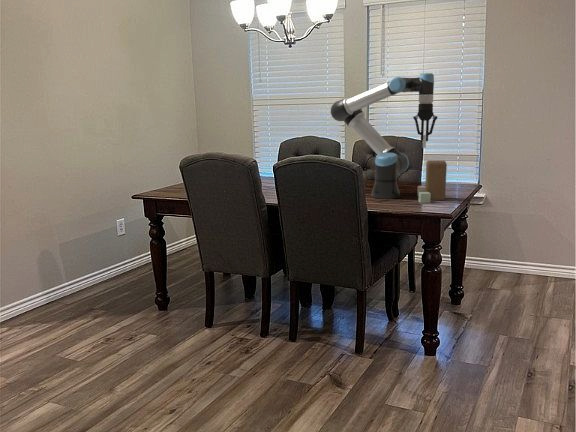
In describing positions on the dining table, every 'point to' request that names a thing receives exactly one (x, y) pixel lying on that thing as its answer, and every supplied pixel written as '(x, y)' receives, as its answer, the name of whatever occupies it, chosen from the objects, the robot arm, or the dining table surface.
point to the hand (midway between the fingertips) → (424, 147)
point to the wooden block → (436, 179)
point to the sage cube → (424, 197)
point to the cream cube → (420, 189)
